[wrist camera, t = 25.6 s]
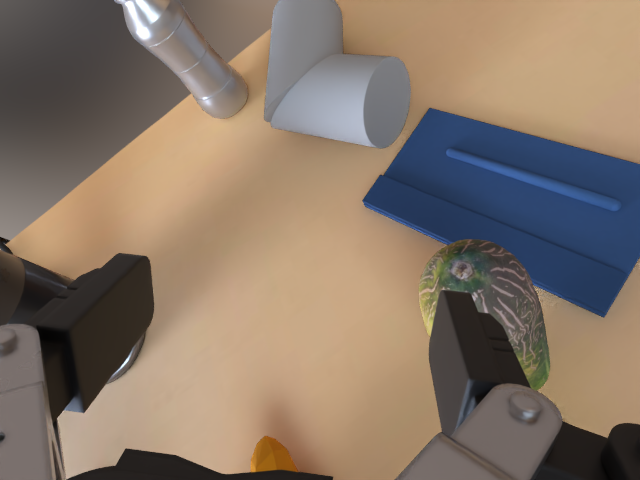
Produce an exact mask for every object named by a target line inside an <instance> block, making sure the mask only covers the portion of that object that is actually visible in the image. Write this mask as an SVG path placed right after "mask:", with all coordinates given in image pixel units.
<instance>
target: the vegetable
mask: <svg viewBox="0 0 640 480" xmlns="http://www.w3.org/2000/svg"><path fill="white" fill-rule="evenodd" d="M441 290H451V291H460V292H469V293H471V295H472V297H473V300H474V302H475V305H476V307H477V310H478V312H482V313H490V314H491V315H492V316H493V317H494V318H495V319H496V320H497V321H498V322H499V323H500V324H502V325H503V327H504V329H505V332H506V334H507V336H508V338H509V342H510V343H511V345H512V347H513V349H514V353H515V354H516V356H517V358H518V360H519V362H520V365H521V367H522V369H523V371H524V373H525V376H526V378H527V380H528V382H529V384H530V386H531V389H534V390H536V391H537V390H539V389H540V388H541V387H542V386H543V385H544V384H545V382H546V381H547V379H548V376H549V371H550V357H549V349H548V344H547V337H546V331H545V325H544V319H543V314H542V308H541V305H540V302H539V299H538V296H537V293H536V291H535V289H534V287H533V283H532V280H531V278H530V276H529V274H528V272H527V271H526V269H525V268H524V267H523V265H522V264H521V263H520V262H519V261H518V259H517V258H516V257H515V256H514V255H513V254H511V253H510V252H508V251H507V250H506V249H504V248H503V247H501V246H499V245H497V244H495V243H493V242H490V241H486V240H479V239H465V240H459V241H456V242H454V243H451V244H449V245H448V246H446V247H444V248H443V249H441V250H440V251H439V252H437V253H436V254H435V255H434V256H433V257H432V258H431V259H430V261H429V262H428V263H427V265H426V267H425V269H424V272H423V274H422V276H421V279H420V283H419V305H420V309H421V312H422V316H423V321H424V324H425V328H426V330H427V333H428V335H429V337H430V336H431V331H432V326H433V321H434V316H435V312H436V307H437V302H438V297H439V294H440V291H441Z"/></svg>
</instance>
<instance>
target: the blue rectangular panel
mask: <svg viewBox="0 0 640 480" xmlns="http://www.w3.org/2000/svg"><path fill="white" fill-rule="evenodd" d="M363 203H364V205H365V207H367V208H369V209H372V210H374V211H376V212H378V213H380V214H382V215H384V216H387V217H389V218H391V219H393V220H395V221H397V222H400V223H402V224H404V225H406V226H408V227H410V228H412V229H415V230H417V231H419V232H421V233H423V234H425V235H427V236H430V237H432V238H434V239H436V240H438V241H440V242H442V243H445V244H447V245H449V244H451V243H454V242H456V241H459V240H465V239H479V240H486V241H490V242H493V243H495V244H497V245H499V246H501V247H503V248H504V249H506V250H507V251H508V252H510V253H511V254H513V255H514V256H515V257H516V258H517V259H518V261H519V262H520V263H521V264H522V265H523V267H524V268H525V269H526V271H527V272H528V274H529V276H530V278H531V280H532V283H533V285H535V286H537V287H539V288H541V289H543V290H546V291H548V292H550V293H552V294H554V295H556V296H558V297H561V298H563V299H565V300H567V301H569V302H571V303H573V304H576V305H578V306H580V307H582V308H584V309H586V310H588V311H591V312H593V313H595V314H597V315H599V316H601V317H605V315H606V314H607V312H608V310H609V308H610V307H611V305H612V303H613V302H614V300H615V298H616V297H617V295H618V293H619V291H620V290H621V288H622V286H623V285H624V283H625V281H626V280H627V278H628V276H629V274H630V273H631V271H632V269H633V268H634V266H635V264H636V262H637V261H638V259H639V257H640V164H637V163H633V162H629V161H625V160H622V159H618V158H614V157H611V156H607V155H603V154H599V153H596V152H592V151H588V150H585V149H581V148H577V147H573V146H570V145H566V144H562V143H558V142H555V141H551V140H547V139H544V138H540V137H536V136H532V135H529V134H525V133H521V132H517V131H514V130H510V129H506V128H503V127H499V126H495V125H491V124H488V123H484V122H480V121H477V120H473V119H469V118H465V117H462V116H458V115H454V114H450V113H447V112H443V111H439V110H436V109H432V108H429V110H428V111H427V113H426V114H425V115H424V117H423V118H422V120H421V121H420V123H419V124H418V126H417V127H416V129H415V130H414V131H413V133H412V134H411V136H410V137H409V139H408V140H407V142H406V143H405V145H404V146H403V148H402V149H401V150H400V152H399V153H398V155H397V156H396V158H395V159H394V161H393V162H392V164H391V165H390V166H389V168H388V169H387V171H386V172H385V174H384V175H380V176H379V177H378V179H377V180H376V182H375V183H374V185H373V186H372V187H371V189H370V190H369V192H368V193H367V195H366V196H365V198H364V199H363Z"/></svg>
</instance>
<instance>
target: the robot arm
mask: <svg viewBox="0 0 640 480" xmlns="http://www.w3.org/2000/svg"><path fill="white" fill-rule="evenodd" d="M9 241H10V240H8V239H5V238H2V237H0V249H1V250H0V480H66V473H65V466H64V459H63V452H62V445H61V438H60V430H59V425H58V420H57V418H58V416H59V415H60V414H61V413H62V411H63V410H66V411H74V412H82V413H84V412H85V411H86V410H87V408H88V407H89V406H90V404H91V403H92V402H93V400H94V399H95V398H96V396H97V395H98V394H99V392H100V391H101V390H102V388H103V387H104V386H105V384H107V383H110V382H113V381H115V380H116V379H118V378H119V377H121V376H122V375H123V374H124V373H125V372H126V371H127V370H128V369H129V368H130V367H131V365H132V364H133V362H134V361H135V359H136V358H137V356H138V354H139V352H140V349H141V346H142V343H143V340H144V335H145V331H146V329H147V328H148V327H149V325H150V323H151V320H152V317H153V313H154V298H153V287H152V276H151V265H150V261H149V259H148V257H147V256H141V255H132V254H123V253H118V254H117V255H115V256H114V257H113V258H112V259H111V260H110V261H108V262H107V263H106V264H105V265H104V266H103V267H102V268H100V269H99V268H97V269H94V270H92V271H90V272H88V273H86V274H83V275H81V276H79V277H78V278H77V279H76V280H73V279H70V278H68V277H66V276H63V275H61V274H58V273H56V272H53V271H51V270H48V269H46V268H44V267H41V266H39V265H36V264H34V263H31V262H29V261H27V260H24V259H22V258H19V257H16V256H14V255H13V253H12V252H11V250H10V249H9V248H8V247H7V246H6V245H5V244H7V243H8V242H9ZM429 363H430V368H431V374H432V379H433V385H434V390H435V396H436V401H437V407H438V412H439V417H440V423H441V428H442V432H440V433H438V434H437V435H436V436H435V437H434V438H433V439H432V440H431V441H430V442H429V443H428V444H427V445H426V446H425V447H424V448H423V450H422V451H421V452H420V453H419V454H418V455H417V456H416V457H415V458H414V459H413V460H412V461H411V463H410V464H409V465H408V466H407V467H406V468H405V469H404V470H403V471H402V472H401V473H400V475H399V476H398V477H397V478H396V479H395V480H640V425H639V424H632V423H623V424H619V425H616V426H615V427H614V428H612V430H611V432H610V434H609V436H608V438H606V437H603V436H600V435H597V434H594V433H592V432H589V431H586V430H583V429H580V428H577V427H575V426H572V425H570V424H568V423H566V422H564V421H562V416H561V413H560V411H559V410H558V408H557V407H556V406H555V404H554V403H553V402H552V401H551V400H549V399H548V398H547V397H546V396H544V395H543V394H541V393H539V392H538V391H536V390H534V389H531V386H530V384H529V382H528V380H527V378H526V376H525V373H524V371H523V369H522V367H521V365H520V362H519V360H518V358H517V356H516V354H515V353H514V349H513V347H512V345H511V343H510V342H509V338H508V336H507V334H506V332H505V329H504V327H503V325H502V324H500V323H499V322H498V321H497V320H496V319H495V318H494V317H493V316H492V315H491V314H490V313H482V312H478V310H477V307H476V305H475V302H474V300H473V297H472V295H471V293H469V292H460V291H451V290H441V291H440V294H439V297H438V302H437V307H436V312H435V316H434V321H433V326H432V331H431V336H430V342H429ZM67 480H333V477H332V476H325V475H317V474H310V473H303V472H295V471H288V470H271V471H260V472H249V473H239V474H221V473H218V472H216V471H213V470H211V469H208V468H206V467H203V466H201V465H198V464H196V463H193V462H191V461H189V460H186V459H184V458H181V457H179V456H176V455H170V454H163V453H155V452H148V451H141V450H133V449H125V451H124V452H123V454H122V456H121V457H120V459H119V461H118V463H117V464H116V466H109V467H104V468H99V469H95V470H91V471H88V472H84V473H81V474H79V475H76V476H74V477H71V478H69V479H67Z"/></svg>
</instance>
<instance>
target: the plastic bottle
mask: <svg viewBox="0 0 640 480" xmlns="http://www.w3.org/2000/svg"><path fill="white" fill-rule="evenodd" d="M114 1H115V2H116V3H118V4H120V3H121V4H122V5H123V10H124V16H125V20H126V24H127V27H128V29H129V31H130V33H131V34H132V36H133V38H134V39H135V40H137V41H138V42H139V43H140V44H141V45H142V46H144V47H145V48H146V49H147V50H149V51H150V52H151V53H152V54H154V55H155V56H156V57H157V58H159V59H160V60H161V61H162V62H163V63H164V64H165V65H166V66H167V67H168V68H170V69H171V70H172V71H173V72H174V73H175V74H176V75H177V76H178V77H179V78H180V79H181V81H182V82H183V83H184V85H185V86H186V87H187V88H188V89H189V91H190V92H191V93H192V94H193V96H194V98H195V100H196V101H197V103H198V104H199V105H200V107H201V108H202V110H203V111H205V112H206V113H208V114H209V115H210V116H212V117H214V118H219V119H225V118H229V117H231V116H233V115H234V114H236V113H237V112H238V111H240V109H241V108H242V107H243V106H244V104H245V102H246V100H247V96H248V90H247V86H246V84H245V82H244V80H243V78H242V76H241V75H240V74H239V73H238V72H237V71H236V70H235V69H234V68H232V67H231V66H230V65H228V64H227V63H226V62H225V61H224V60H223V59H222V58H221V57H220V56H219V55H218V54H217V53H216V52H215V51H214V50H213V49H212V48H211V46H210V45H209V44H208V42H207V41H206V40H205V39H204V37H203V36H202V34H201V33H200V32H199V30H198V29H197V27H196V26H195V24H194V22H193V21H192V19H191V17H190V16H189V14H188V13H187V11H186V9H185V8H184V6H183V4H182V3H181V2H180V0H114Z"/></svg>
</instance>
